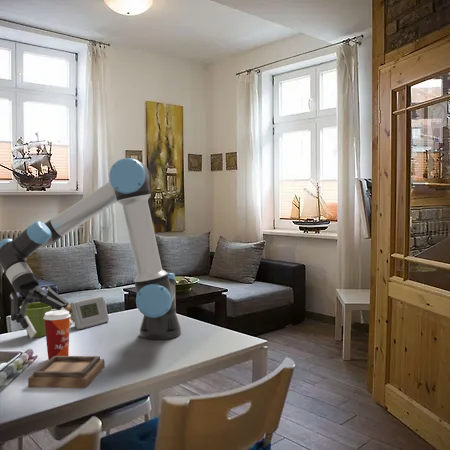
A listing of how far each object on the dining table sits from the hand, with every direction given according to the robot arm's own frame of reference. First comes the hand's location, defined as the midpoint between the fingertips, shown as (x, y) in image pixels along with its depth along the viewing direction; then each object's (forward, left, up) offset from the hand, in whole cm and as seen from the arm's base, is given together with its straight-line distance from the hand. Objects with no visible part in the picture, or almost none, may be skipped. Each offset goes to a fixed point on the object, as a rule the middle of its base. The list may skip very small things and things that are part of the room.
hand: (52, 330), depth 157 cm
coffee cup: (-2, 0, -9) cm, 10 cm away
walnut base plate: (-11, +15, -9) cm, 21 cm away
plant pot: (+17, -27, -9) cm, 33 cm away
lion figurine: (+15, -48, -9) cm, 51 cm away
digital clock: (+2, -41, -9) cm, 42 cm away
